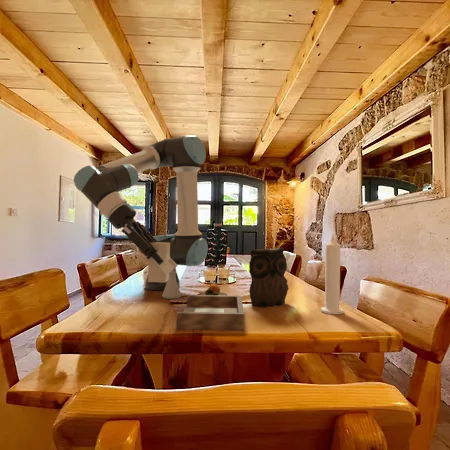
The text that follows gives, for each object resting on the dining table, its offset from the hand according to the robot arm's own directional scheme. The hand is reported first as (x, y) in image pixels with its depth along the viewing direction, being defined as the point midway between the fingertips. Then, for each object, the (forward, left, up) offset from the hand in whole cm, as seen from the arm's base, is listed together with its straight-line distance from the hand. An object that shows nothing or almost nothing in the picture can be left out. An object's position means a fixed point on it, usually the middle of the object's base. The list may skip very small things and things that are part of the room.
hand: (172, 270), depth 90 cm
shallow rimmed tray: (+3, +12, -15) cm, 19 cm away
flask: (-28, +12, -15) cm, 34 cm away
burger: (-18, +24, -15) cm, 33 cm away
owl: (-3, +38, -15) cm, 41 cm away
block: (-2, -3, -3) cm, 5 cm away
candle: (+17, +49, -15) cm, 54 cm away
